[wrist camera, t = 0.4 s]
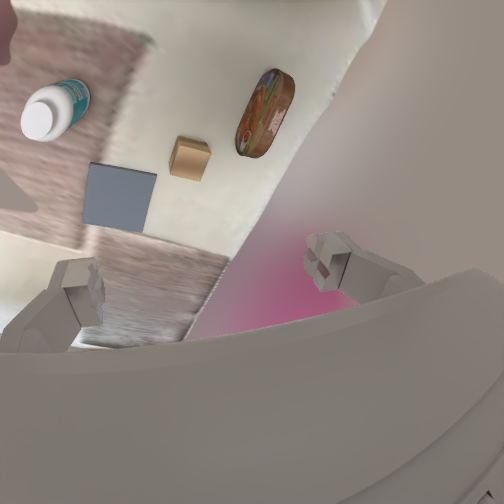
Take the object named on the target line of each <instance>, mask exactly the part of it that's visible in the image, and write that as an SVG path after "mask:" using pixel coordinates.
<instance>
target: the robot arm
mask: <svg viewBox="0 0 504 504" xmlns="http://www.w3.org/2000/svg"><path fill="white" fill-rule="evenodd" d="M307 246H308V249H307V250H306V251H305V253H304V258H303V264H304V268H305V271H306V272H307V274H308V275H310V276H312V277H314V281H313V282H314V283H315V285H316V286H317V287H318V289H319V290H320V291H321V292H325V291H330V290H336V289H339V291H341V292H342V293H344V294H346V295H347V296H349V297H350V298H352V299H353V300H355V301H356V302H358V303H360V305H356V306H353V307H349V308H345V309H341V310H338V311H333V312H330V313H326V314H322V315H317V316H313V317H310V318H305V319H300V320H296V321H292V322H287V323H283V324H278V325H273V326H269V327H264V328H259V329H254V330H248V331H243V332H238V333H233V334H227V335H221V336H215V337H210V338H203V339H196V340H190V341H183V342H175V343H168V344H160V345H152V346H143V347H133V348H123V349H111V350H98V351H83V352H66V351H67V350H68V348H69V347H70V345H71V344H72V342H73V340H74V339H75V337H76V336H77V334H78V333H79V332H80V330H81V327H89V326H98V325H102V324H103V313H104V311H103V308H102V305H103V303H104V302H105V288H104V283H103V279H102V277H101V276H100V275H99V274H98V270H99V265H98V262H97V259H96V258H95V257H91V258H81V259H71V260H62V261H58V262H57V264H56V266H55V269H54V271H53V274H52V277H51V280H50V282H49V285H48V288H47V290H43V291H42V292H41V293H40V294H39V295H38V296H37V297H36V298H34V299H33V300H32V301H31V302H30V303H29V304H28V305H27V306H26V307H25V308H24V309H23V310H22V311H21V312H20V313H19V314H18V315H17V316H16V317H15V318H14V319H13V320H12V321H11V322H10V323H9V324H8V325H7V326H6V327H5V328H4V330H3V333H2V336H1V339H0V504H504V284H503V283H501V282H500V281H499V280H498V279H496V278H495V277H493V276H491V275H490V274H488V273H486V272H484V271H482V270H480V269H477V268H469V269H466V270H463V271H461V272H458V273H456V274H453V275H450V276H448V277H445V278H442V279H439V280H436V281H434V282H430V283H427V284H426V283H425V282H424V281H423V280H422V279H421V278H420V277H419V276H418V275H417V274H416V273H415V272H414V271H413V270H411V269H409V268H406V267H404V266H402V265H400V264H397V263H395V262H393V261H390V260H388V259H386V258H383V257H381V256H379V255H376V254H374V253H372V252H369V251H367V250H364V251H363V250H362V249H361V248H360V247H359V246H358V245H357V244H356V243H355V242H354V241H353V240H352V239H351V238H350V237H349V236H348V235H347V234H346V233H344V232H343V231H334V232H328V233H319V234H311V235H309V237H308V239H307Z"/></svg>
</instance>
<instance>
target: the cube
mask: <svg viewBox="0 0 504 504" xmlns="http://www.w3.org/2000/svg"><path fill="white" fill-rule="evenodd" d="M210 155H211V152H210V150H209V148H208V146H207V144H206V143H203V142H199V141H196V140H192V139H188V138H184V137H180V136H178V138H177V140H176V143H175V146H174V149H173V152H172V155H171V158H170V161H169V170H170V175H173V176H177V177H182V178H187V179H191V180H195V181H201V178H202V175H203V173H204V170H205V168H206V165H207V163H208V160H209V158H210Z"/></svg>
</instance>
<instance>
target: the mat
mask: <svg viewBox="0 0 504 504" xmlns="http://www.w3.org/2000/svg"><path fill="white" fill-rule="evenodd" d="M156 177H157V174H153V173H148V172H143V171H138V170H132V169H127V168H122V167H116V166H111V165H105V164H99V163H93V162H91V163H90V166H89V172H88V179H87V186H86V194H85V202H84V213H83V223H84V224H91V225H97V226H103V227H110V228H116V229H122V230H128V231H135V232H141V233H142V231H143V226H144V222H145V218H146V214H147V210H148V206H149V202H150V198H151V194H152V191H153V187H154V184H155V180H156Z"/></svg>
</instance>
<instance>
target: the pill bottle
mask: <svg viewBox="0 0 504 504" xmlns="http://www.w3.org/2000/svg"><path fill="white" fill-rule="evenodd" d="M89 103H90V93H89V90H88V88H87V86H86V85H85V84H84V83H83V82H82V81H80V80H77V79H67V80H63V81H60V82H57V83H55V84H52V85H49V86H46V87H43V88H41V89H39V90H38V91H36V92H35V93H34V94H33V95H32V96H31V97H30V98H29V100H28V101H27V103H26V105H25V108H24V112H23V114H22V117H21V128H22V131H23V133H24V134H25V136H26V137H28V138H29V139H32V140H37V141H42V142H47V141H51V140H54V139H56V138H58V137H59V136H60V135H62V134H63V133H64V132H65V131H66V130H67V129H68V128H69V127H71V126H72V125H73V124H74V123H75V122H76V121H78V120H79V119H80V118H81V117H82V116H83V115H84V114H85V112H86V111H87V109H88V106H89Z"/></svg>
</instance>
